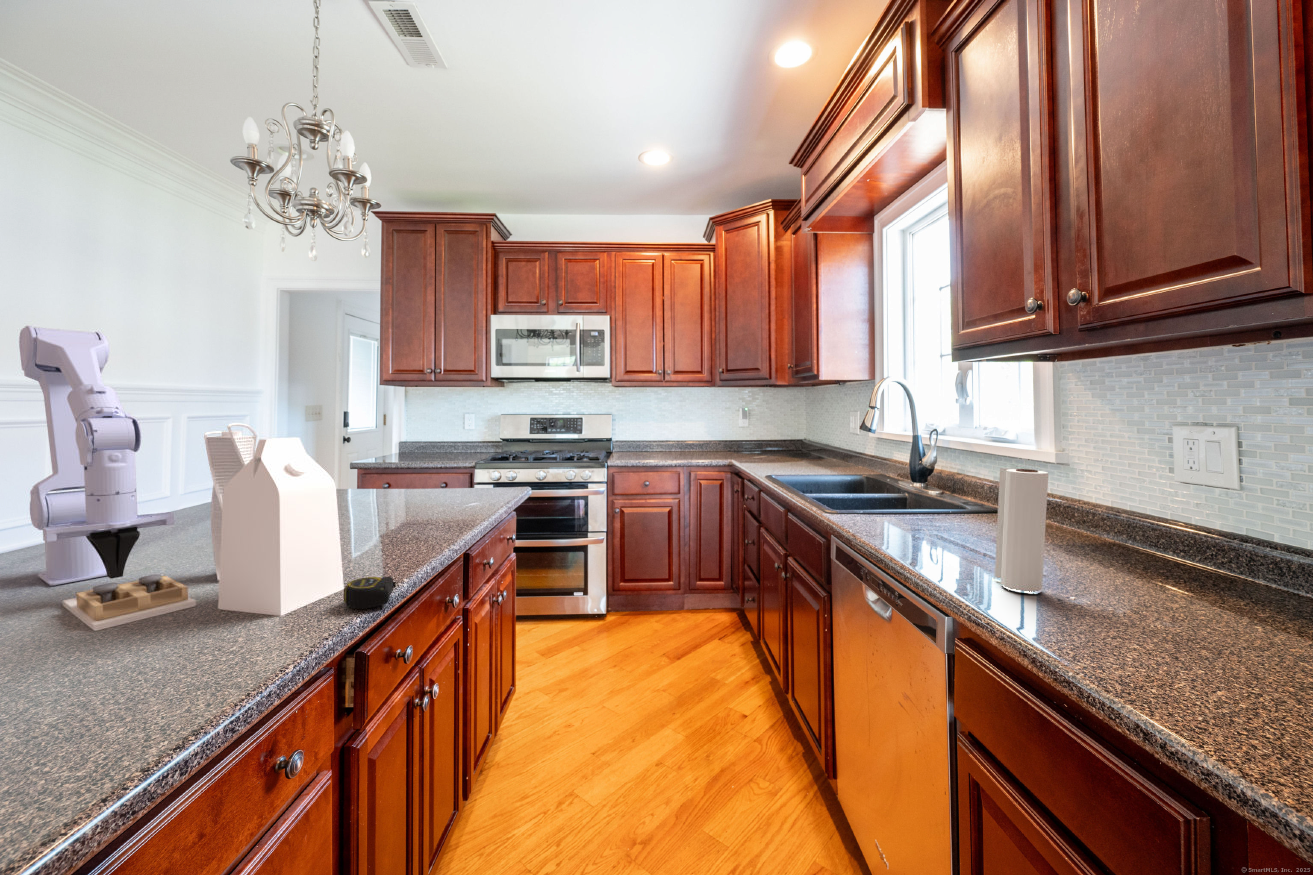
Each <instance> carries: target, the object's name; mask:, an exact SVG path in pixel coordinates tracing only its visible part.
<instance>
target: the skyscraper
mask: <svg viewBox="0 0 1313 875" xmlns="http://www.w3.org/2000/svg"><path fill="white" fill-rule="evenodd" d="M235 426H236V427H243V428H247V429H248V430H249V431H251V433H252V434H253V435H243V434H242V431H241V430H232V428H231V427H235ZM226 427H227V430H225V431H224V430H223V431H222V430H221V431H220V430H219V431H207V432H205V433H204V434H203V435H204V436H203V437H204V442H205V443H204V444H205V448H206V454H207V460H208V465H209V470H210V474H211V478H212V481H213V482H212V483H213V486H212V493H211V504H210V505H211V506H210V528H211V542H212V550H213V559H214V565H215V573H216V580H217V583H219V577H220V553H221V529H222V505H223V492H224V489H225V486H226V485H227V484H228V482H229V481H230V480H231V479H232V478H233V477H234V476H235V475H236V474H237V473H238V472H239V471H240V470H241V469H242V468H243V467H244V466H245V465H246V464H247V463H248V462H250V461H251V460H252V459H253V458H254V454H255V451H256V448H257V437H258V436H257V433H256V431H255V430H254V429H253V428H252V427H251V426H249V425H248V424H246V423H240V422H233V423H229V424H227V426H226ZM209 435H211V436H209ZM212 435H215V436H212ZM216 435H217V436H216Z"/></svg>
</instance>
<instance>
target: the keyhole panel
mask: <svg viewBox="0 0 1313 875" xmlns="http://www.w3.org/2000/svg"><path fill="white" fill-rule="evenodd" d="M188 590H189V589H188V586H187V585H185V584H183V583H181V582H179V581H177V580H174V579H172V578H171V577H168V576H167V575H165V574H164V575H161V580H160V581H157V582H156V592H151V593H147V587H145V584H140V583H139V580H135V581H130V582H125V583H120V584H118V589H116V590H113V591H112V601H110V602H106V603H101V597H100V593H93V589H90V590H86V591H84V590H83V591H79V592H76V593H75V598H76V600H77V607H79V608H80V609H81V610H83V611H84V612H85V613H86V614H88V615H89V616H90V617H92V618H93V619H94V620H96V621H98V620H103V619H107V618H111V617H115V616H120V615H124V614H128V613H132V612H137V611H141V610H145V609H149V608H153V607H158V606H162V605H166V604H170V603H175V602H179V601H183V600H187V599H188V597H189V591H188Z"/></svg>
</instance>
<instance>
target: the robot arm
mask: <svg viewBox="0 0 1313 875" xmlns="http://www.w3.org/2000/svg"><path fill="white" fill-rule="evenodd" d="M18 340H19V341H18V344H19V347H18V348H19V356H20V363H21V370H22V371H23V374H24V376H25V377H26V378H28V379H31V380H33V381H37V382H38V384H39V386H40V389H41V391H42V394H43V401H44V409H45V410H44V411H45V419H46V427H47V436H48V437H47V438H48V445H49V453H50V461H51V462H50V464H51V470H52V474H50V475H49V476H47V477H45V478H43V479H42V480H40V481H38V482H37V483H35V484H34V485H33V486H32V488H31V490H30V494H29V496H30V502H29V517H30V521H31V525H32V527H34V528H36V529H37V530H39V531H42V539H43V541H44V551H45V569H46V570H45V572H41V573H38V574H37V575H38V576H37V577H38V578H40V579H41V580H43V581H44V582H45V583H46V584H48V585H49V586H52V587H53V586H56V585H57V586H58V585H62V584H63V585H64V584H68V583H73V582H74V583H75V582H79V581H84V580H90V579H95V578H100V577H107V578H109V579H111V580H112V579H117V578H123V577H124V571H125V567H126V564H127V560H128V558H129V557H130V556H129V555H130V554H131V551H132V549H133V548H134V546H135V545H136V543H137V542H138V540H139V538H140V534H141V533H140V531H139V529H146V528H153V527H159V526H160V527H161V526H173V525H175V513H173V512H170V511H168V512H159V513H147V514H146V513H145V514H138V498H137V495H138V494H137V473H136V472H137V471H136V469H137V468H136V453H137V452H139V450H140V448H141V443H142V432H141V426H140V423H139V421H138V419H137V417H135V416H132V415H131V413H126V412H125V409H124V408H123V405H122V402H121V400H120V398H119V396H118V394H117V392H116V391H115V389H114V388H112V387H110V386H108V385H105V384H104V382H103V378H102V372H103V370H104V368H105V366H106V364H107V362H108V361H109V357H110V346H109V341H108V339H107V336H105V334H104V333H102V332H100V331H95V332H90V331H80V330H69V329H60V328H57V329H56V328H47V327H36V326H35V327H34V326H32V325H25V326H24V327H23V328H21V330H20V332H19V339H18ZM83 489H84V490H83ZM69 490H70V491H69ZM72 490H73V491H72ZM58 491H59V492H58ZM63 491H64V492H63ZM49 492H50V493H49Z"/></svg>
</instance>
